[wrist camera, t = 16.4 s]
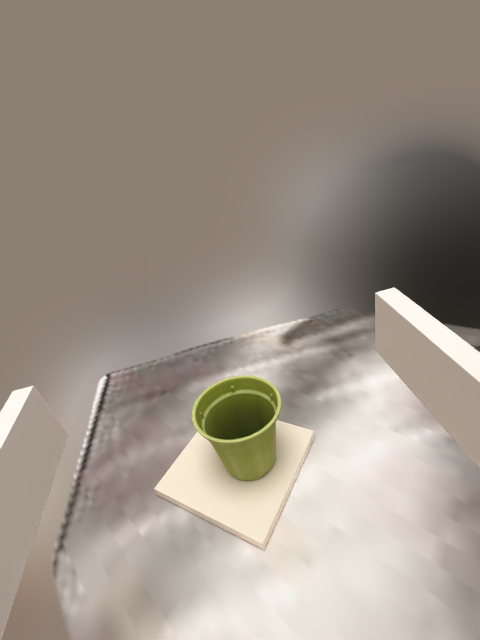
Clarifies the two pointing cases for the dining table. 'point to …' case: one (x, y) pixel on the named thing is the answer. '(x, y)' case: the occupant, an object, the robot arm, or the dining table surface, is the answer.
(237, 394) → the plant pot
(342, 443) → the dining table surface
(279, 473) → the tile
